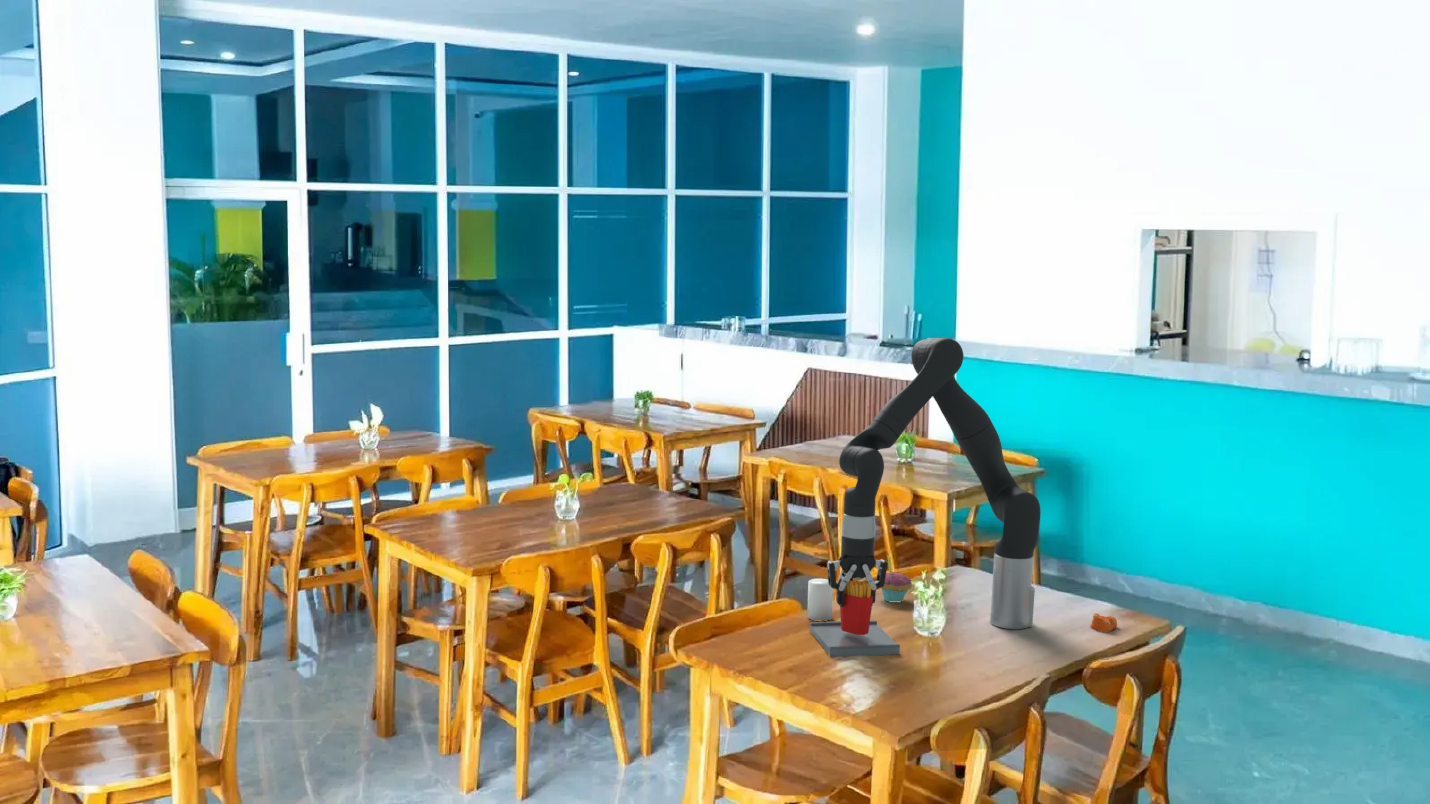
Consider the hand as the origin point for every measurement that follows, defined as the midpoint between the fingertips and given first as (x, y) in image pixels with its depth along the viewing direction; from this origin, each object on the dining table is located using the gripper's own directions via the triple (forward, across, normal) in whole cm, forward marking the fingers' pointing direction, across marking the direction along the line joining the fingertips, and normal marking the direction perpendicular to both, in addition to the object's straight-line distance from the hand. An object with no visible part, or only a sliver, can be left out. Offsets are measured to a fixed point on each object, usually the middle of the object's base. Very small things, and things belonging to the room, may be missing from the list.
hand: (855, 605), depth 302 cm
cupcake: (+9, -20, -32) cm, 39 cm away
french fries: (+6, 0, 0) cm, 6 cm away
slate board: (+9, 0, 0) cm, 9 cm away
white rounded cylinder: (+9, +3, -19) cm, 21 cm away
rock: (+10, -64, -5) cm, 65 cm away
